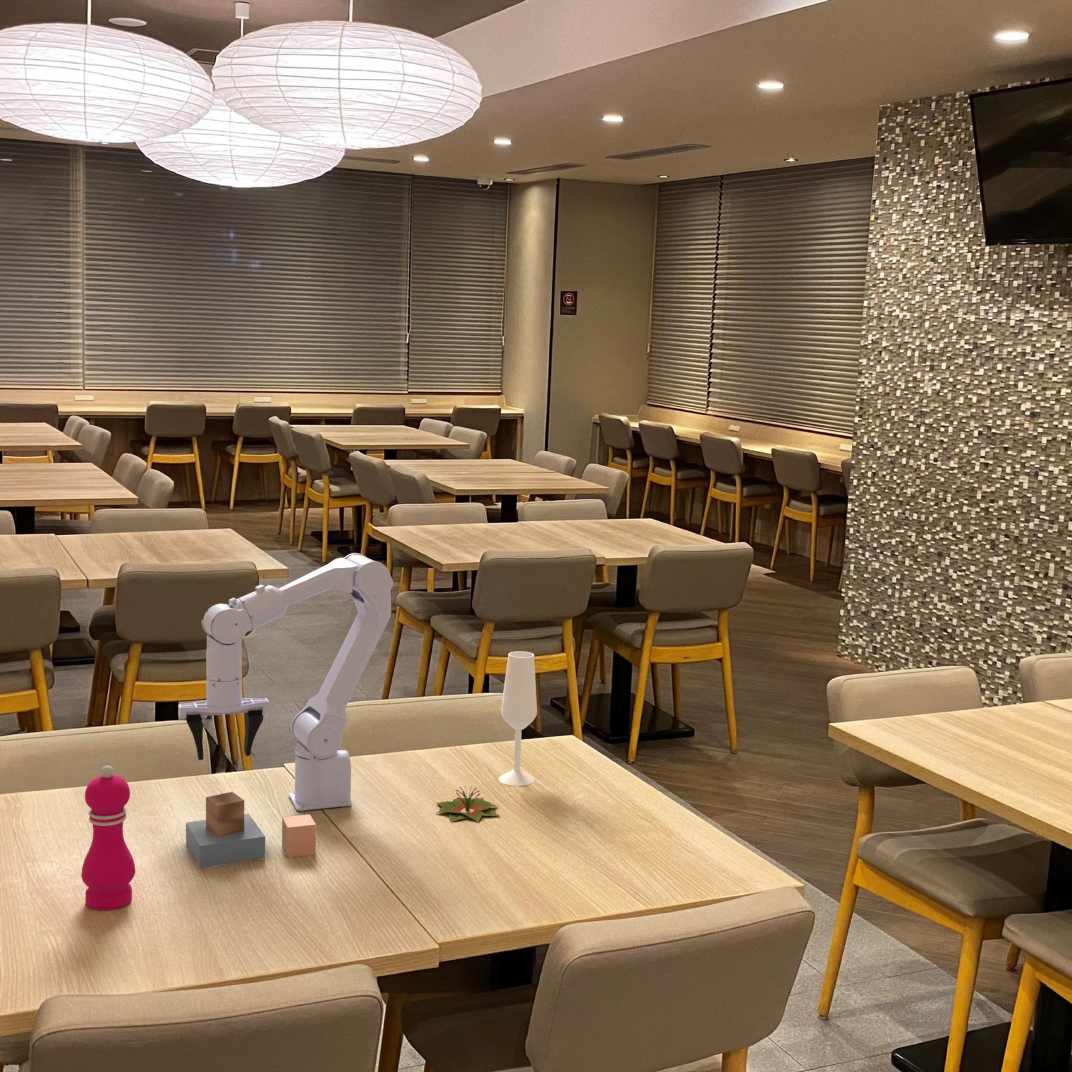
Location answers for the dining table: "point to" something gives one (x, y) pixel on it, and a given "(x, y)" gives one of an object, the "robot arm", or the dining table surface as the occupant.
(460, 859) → the dining table surface
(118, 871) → the pepper mill
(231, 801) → the walnut block
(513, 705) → the champagne flute
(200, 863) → the base block
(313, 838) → the terracotta block
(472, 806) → the lily flower
